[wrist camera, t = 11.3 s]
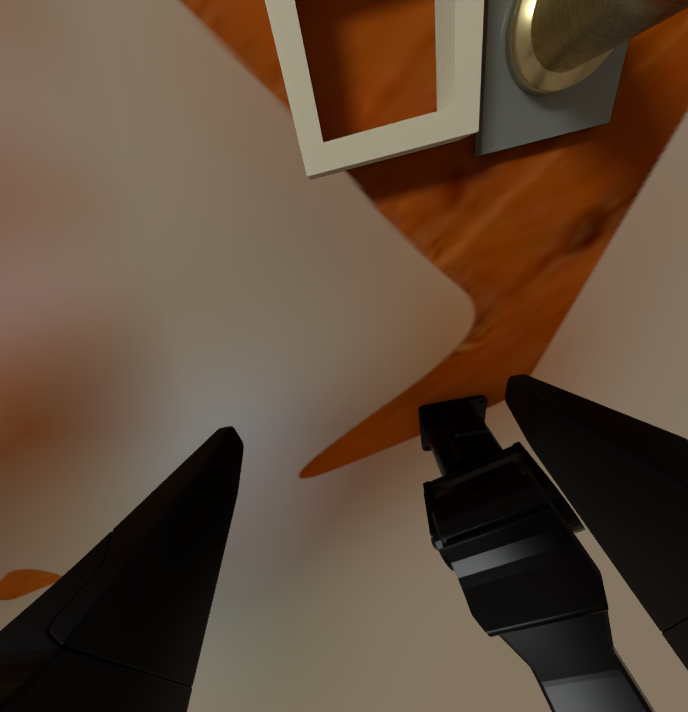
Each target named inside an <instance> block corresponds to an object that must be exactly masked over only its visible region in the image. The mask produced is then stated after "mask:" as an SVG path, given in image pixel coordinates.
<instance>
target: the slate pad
mask: <svg viewBox="0 0 688 712" xmlns="http://www.w3.org/2000/svg"><path fill="white" fill-rule="evenodd" d="M513 2H514V0H484V15H483V38H482V62H481V86H480V109H479V131H478V132H476V140H475V157H477V156H481V155H485V154H489V153H493V152H497V151H500V150H504V149H508V148H512V147H516V146H520V145H524V144H528V143H532V142H536V141H539V140H543V139H547V138H551V137H555V136H559V135H563V134H567V133H571V132H575V131H579V130H582V129H586V128H590V127H594V126H598V125H602V124H605V123H609V122H610V118H611V114H612V110H613V105H614V101H615V97H616V93H617V89H618V85H619V81H620V76H621V72H622V68H623V64H624V60H625V56H626V52H627V47H628V43H629V40H627V41H625V42H624V43H622V44H620V45H618V46H616V47H615V48H614V49H613V50H612V52H611V53H610V54H609V56H608V57H607V58H606V59H605V60H604V62H603V63H602V64H601V65H600V66H599V67H598V68H597V69H596V70H595V71H594V72H592V73H591V74H590V75H589V76H587V77H586V78H585V79H583V80H582V81H580V82H578V83H576V84H574V85H572V86H570V87H568V88H566V89H564V90H562V91H560V92H558V93H555V94H552V95H549V96H532V95H529V94H527V93H525V92H523V91H522V90H521V89H520V88H519V87H518V86H517V85H516V84H515V82H514V81H513V79H512V77H511V75H510V73H509V70H508V67H507V62H506V55H505V37H506V28H507V23H508V18H509V14H510V11H511V8H512V5H513Z"/></svg>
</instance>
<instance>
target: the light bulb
mask: <svg viewBox="0 0 688 712" xmlns="http://www.w3.org/2000/svg"><path fill="white" fill-rule="evenodd" d="M687 8H688V0H514V2H513V5H512V8H511V11H510V14H509V18H508V23H507V28H506V37H505V55H506V62H507V67H508V70H509V73H510V75H511V77H512V79H513V81H514V82H515V84H516V85H517V86H518V87H519V88H520V89H521V90H522V91H523V92H525V93H527V94H529V95H532V96H549V95H552V94H555V93H558V92H560V91H562V90H564V89H566V88H568V87H570V86H572V85H574V84H576V83H578V82H580V81H582V80H583V79H585V78H586V77H587V76H589V75H590V74H591V73H592V72H594V71H595V70H596V69H597V68H598V67H599V66H600V65H601V64H602V63H603V62H604V60H605V59H606V58H607V57H608V56H609V54H610V53H611V52H612V50H613V49H614V48H615V47H616V46H618V45H620V44H622V43H624V42H625V41H627V40H629V39H631V38H633V37H635V36H637V35H639V34H640V33H642V32H644V31H646V30H648V29H650V28H652V27H653V26H655V25H657V24H659V23H661V22H663V21H665V20H666V19H668V18H670V17H672V16H674V15H676V14H678V13H679V12H681V11H683V10H685V9H687Z"/></svg>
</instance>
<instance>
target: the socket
mask: <svg viewBox="0 0 688 712" xmlns="http://www.w3.org/2000/svg"><path fill="white" fill-rule="evenodd" d="M265 3H266V7H267V11H268V15H269V20H270V24H271V28H272V32H273V36H274V40H275V45H276V49H277V53H278V57H279V61H280V65H281V70H282V74H283V78H284V82H285V86H286V90H287V95H288V99H289V103H290V107H291V111H292V115H293V120H294V123H295V128H296V132H297V136H298V140H299V144H300V148H301V153H302V157H303V161H304V165H305V170H306V173H307V177H308V178H310V179H314V178H318V177H322V176H326V175H330V174H333V173H337V172H341V171H345V170H349V169H352V168H356V167H360V166H364V165H368V164H372V163H375V162H379V161H383V160H387V159H391V158H394V157H398V156H402V155H406V154H410V153H413V152H417V151H421V150H425V149H429V148H432V147H436V146H440V145H444V144H448V143H451V142H455V141H459V140H461V139H463V138H465V137H467V136H470V135H472V134H474V133H476V132H478V131H479V109H480V86H481V62H482V38H483V15H484V0H435V35H436V82H437V112H433V113H429V114H426V115H422V116H418V117H415V118H411V119H407V120H404V121H400V122H396V123H393V124H389V125H385V126H382V127H378V128H374V129H371V130H367V131H363V132H360V133H356V134H352V135H349V136H345V137H341V138H338V139H334V140H330V141H327V142H323V139H322V134H321V129H320V124H319V119H318V114H317V109H316V104H315V99H314V94H313V89H312V84H311V79H310V74H309V69H308V64H307V59H306V54H305V50H304V45H303V40H302V35H301V30H300V25H299V20H298V15H297V10H296V5H295V0H265Z"/></svg>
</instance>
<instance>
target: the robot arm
mask: <svg viewBox="0 0 688 712" xmlns="http://www.w3.org/2000/svg"><path fill="white" fill-rule="evenodd" d="M480 400H481V401H480ZM505 401H506V403H507V405H508V407H509V409H510V411H511V412H512V414H513V416H514V418H515V420H516V421H517V423H518V425H519V427H520V429H521V430H522V432H523V434H524V436H525V437H526V439H527V441H528V443H529V444H530V446H531V448H532V449H533V451H534V452H535V454H536V455H537V456H538V458H539V459H540V461H541V462H542V464H543V465H544V466H545V468H546V469H547V470H548V472H549V473H550V475H551V476H552V478H553V479H554V481H555V482H556V483H557V485H558V486H559V487H560V489H561V491H562V492H563V493H564V495H565V496H566V498H567V499H568V501H569V502H570V503H571V505H572V506H573V508H574V509H575V510H576V512H577V513H578V515H579V516H580V517H581V519H582V520H583V522H584V523H585V525H586V526H587V527H588V529H589V530H590V532H591V533H592V535H593V536H594V537H595V539H596V540H597V542H598V543H599V544H600V546H601V547H602V549H603V550H604V552H605V553H606V554H607V556H608V557H609V559H610V560H611V562H612V563H613V564H614V566H615V567H616V569H617V570H618V572H619V573H620V574H621V576H622V577H623V579H624V580H625V581H626V583H627V584H628V586H629V587H630V588H631V590H632V591H633V593H634V594H635V596H636V597H637V598H638V600H639V601H640V603H641V604H642V606H643V607H644V608H645V610H646V611H647V613H648V614H649V616H650V617H651V618H652V620H653V621H654V623H655V624H656V625H657V627H658V628H659V630H660V631H662V634H663V636H664V637H665V639H666V640H667V642H668V643H669V644H670V646H671V647H672V649H673V650H674V652H675V653H676V654H677V656H678V657H679V659H680V660H681V662H682V663H683V664H684V666H685V667H686V669H687V670H688V440H687V439H686V438H683V437H681V436H678V435H676V434H673V433H671V432H668V431H666V430H663V429H661V428H658V427H655V426H653V425H651V424H648V423H646V422H643V421H641V420H638V419H635V418H633V417H630V416H628V415H626V414H623V413H620V412H618V411H615V410H613V409H610V408H608V407H605V406H603V405H600V404H598V403H595V402H593V401H590V400H588V399H585V398H583V397H580V396H578V395H575V394H573V393H570V392H568V391H565V390H563V389H560V388H558V387H555V386H552V385H550V384H548V383H545V382H543V381H540V380H538V379H535V378H532V377H530V376H528V375H524V374H521V375H515V376H511V377H509V379H508V382H507V387H506V393H505ZM486 402H487V400H486V398H485V397H484V396H483V395H478V396H473V397H467V398H462V399H456V400H451V401H445V402H440V403H434V404H429V405H423V406H421V407H420V408H419V410H418V411H419V422H420V433H421V444H422V448H423V450H424V451H431V450H432V452H433V454H434V457H435V459H436V462H437V464H438V467H439V469H440V472H441V475H442V477H440V478H437V479H435V480H433V481H430V482H429V481H428V482H425V483H423V486H424V498H425V504H426V511H427V516H428V523H429V530H430V534H431V541H432V544H433V546H434V548H435V549H437V550H438V551H439V552H440V554H441V556H442V558H443V560H444V561H445V563H446V564H447V566H448V567H449V568H450V569H451V570H452V571H455V573H456V575H457V577H458V579H459V582H460V585H461V587H462V590H463V592H464V595H465V597H466V600H467V603H468V606H469V608H470V611H471V614H472V616H473V617H474V618H475V620H476V621H477V622H478V623H479V625H480V626H481V627H482V628H483V630H484V631H485V632H486V633H487V634H488V635H489V636H490V637H493V636H497V635H499V636H500V637H501V638H502V639H503V640H504V641H505V642H506V643H507V644H508V645H509V646H510V647H511V648H512V649H513V650H514V651H515V652H516V653H517V654H518V655H519V656H520V657H521V658H522V659H523V660H524V661H525V662H526V663H527V664H528V665H529V666H530V668H531V669H532V671H533V673H534V675H535V677H536V679H537V681H538V683H539V685H540V688H541V690H542V692H543V694H544V696H545V698H546V700H547V702H548V704H549V706H550V709H551V710H552V712H655V711H654V709H653V707H652V706H651V704H650V703H649V701H648V700H647V698H646V696H645V695H644V693H643V692H642V690H641V689H640V687H639V685H638V684H637V682H636V681H635V679H634V678H633V676H632V674H631V673H630V671H629V670H628V668H627V667H626V665H625V663H624V662H623V660H622V659H621V657H620V655H619V654H618V652H617V651H616V649H615V648H614V646H613V641H612V635H611V629H610V623H609V617H608V604H607V599H606V595H605V590H604V586H603V580H602V576H601V573H600V571H599V569H598V567H597V566H596V564H595V563H594V562H593V560H592V559H591V558H590V556H589V554H588V553H587V552H586V550H585V549H584V547H583V546H582V544H581V543H580V541H579V540H578V539H577V537H576V536H575V535H574V533H577V532H580V531H583V530H585V528H584V526H583V525H582V523H581V521H580V520H579V518H578V517H577V516H576V514H575V513H574V511H573V510H572V509H571V507H570V505H569V504H568V503H567V501H566V500H565V499H564V497H563V496H562V494H561V493H560V492H559V490H558V489H557V488H556V487H555V485H554V484H553V483H552V481H551V480H550V479H549V478H548V476H547V475H546V474H545V473H544V471H543V470H542V469H541V468H540V467H539V465H538V464H537V463H536V462H535V460H534V459H533V458H532V457H531V456H530V454H529V453H528V452H527V451H526V449H525V448H524V447H523V446H522V445H521V443H520V442H517V443H514V444H513V446H511V447H508V448H506V449H504V450H503V449H502V448H501V446H500V445H499V443H498V442H497V440H496V439H495V437H494V436H493V434H492V433H491V431H490V430H489V428H488V427H487V425H486V424H485V412H486ZM423 410H425V411H423ZM242 457H243V442H242V440H241V439H240V437H239V435H238V434H237V432H236V430H235V429H234V428H233V427H231V426H229V427H224V428H220V429H218V430H217V431H216V432H215V433H214V434H213V435H212V436H211V437H210V438H209V439H208V440H207V441H205V442H204V443H203V444H202V445H201V446H200V447H199V448H198V449H197V450H196V451H195V452H194V453H193V454H192V455H191V456H190V457H189V458H188V459H187V460H186V461H184V462H183V463H182V464H181V465H180V466H179V467H178V468H177V469H176V470H175V471H174V472H173V473H172V474H171V475H170V476H169V477H168V478H167V479H166V480H165V481H163V482H162V483H161V484H160V485H159V486H158V487H157V488H156V489H155V490H154V491H153V492H152V493H151V494H150V495H149V496H148V497H147V498H146V499H145V500H143V502H141V503H140V504H139V505H138V506H137V507H136V508H135V509H134V510H133V511H132V512H131V513H130V514H129V515H128V516H127V517H126V518H125V519H124V520H122V521H121V522H120V524H118V525H117V526H116V527H115V528H114V529H113V532H110V533H109V534H108V535H107V536H106V537H105V538H103V540H101V541H100V542H99V543H98V544H97V545H96V546H95V547H94V548H93V549H92V550H91V551H90V552H89V553H88V554H87V555H85V557H83V558H82V559H81V560H80V561H79V562H78V563H77V564H76V565H75V566H74V567H73V568H71V569H70V570H69V571H68V572H67V573H66V574H65V575H64V576H62V577H61V578H60V579H59V580H58V581H57V582H56V583H55V584H53V585H52V586H51V587H50V588H49V589H48V590H47V591H46V592H44V593H43V594H42V595H41V596H40V597H39V598H38V599H36V600H35V601H34V602H33V603H32V604H31V605H30V606H28V607H27V608H26V609H25V610H24V611H23V612H22V613H20V614H19V615H18V616H17V617H16V618H15V619H13V620H12V621H11V622H10V623H9V624H8V625H7V626H5V627H4V628H3V629H2V630H1V631H0V712H187V708H188V704H189V700H190V695H191V691H192V687H191V686H192V685H193V681H194V677H195V673H196V669H197V665H198V661H199V656H200V652H201V648H202V644H203V639H204V635H205V630H206V626H207V622H208V618H209V614H210V609H211V605H212V601H213V597H214V593H215V588H216V584H217V580H218V575H219V571H220V567H221V562H222V559H223V554H224V550H225V545H226V542H227V537H228V533H229V529H230V525H231V520H232V516H233V511H234V507H235V503H236V499H237V494H238V488H239V481H240V472H241V465H242Z"/></svg>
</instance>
